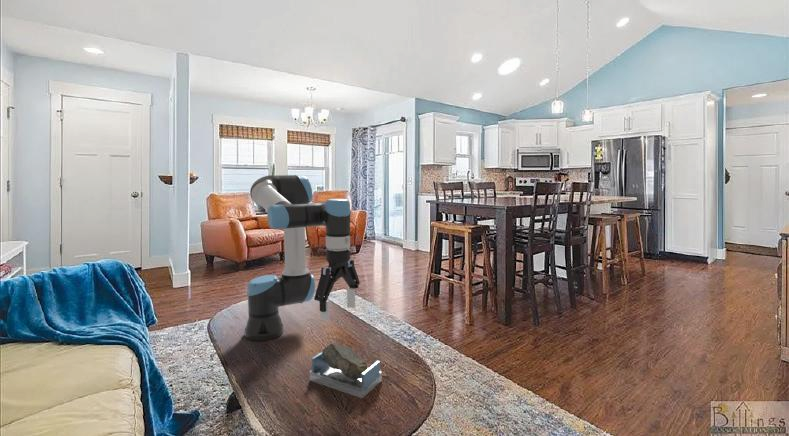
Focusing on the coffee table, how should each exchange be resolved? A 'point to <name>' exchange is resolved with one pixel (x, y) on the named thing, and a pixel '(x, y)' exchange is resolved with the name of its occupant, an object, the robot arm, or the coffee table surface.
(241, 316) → the coffee table surface
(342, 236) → the robot arm
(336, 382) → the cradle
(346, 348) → the rock
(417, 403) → the coffee table surface
